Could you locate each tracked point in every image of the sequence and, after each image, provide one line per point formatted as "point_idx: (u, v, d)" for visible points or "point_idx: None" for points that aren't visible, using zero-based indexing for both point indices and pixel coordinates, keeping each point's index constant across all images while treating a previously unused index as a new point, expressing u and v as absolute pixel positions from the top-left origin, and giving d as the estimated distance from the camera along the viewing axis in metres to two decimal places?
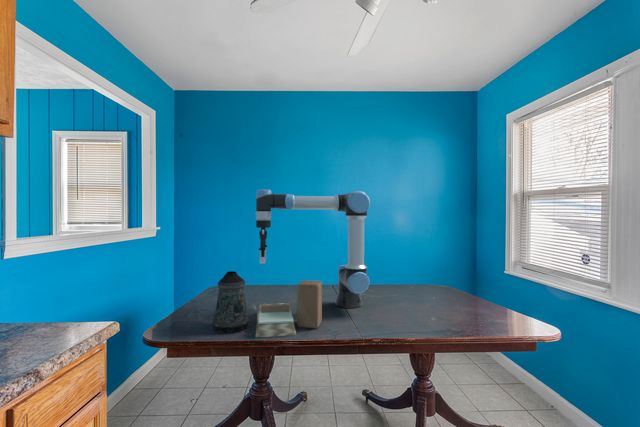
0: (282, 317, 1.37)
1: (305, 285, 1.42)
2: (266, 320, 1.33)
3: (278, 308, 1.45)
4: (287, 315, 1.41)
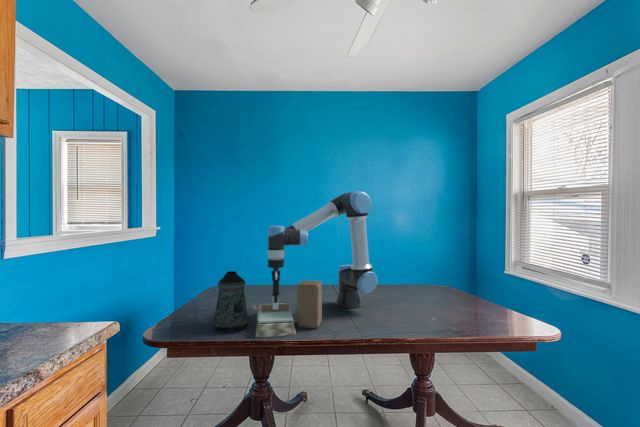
0: (282, 316, 1.39)
1: (305, 285, 1.42)
2: (266, 319, 1.35)
3: None
4: (287, 314, 1.42)
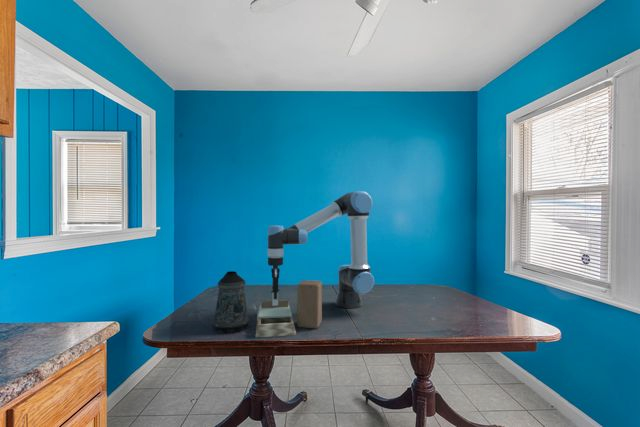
0: (281, 312, 1.45)
1: (305, 285, 1.42)
2: (266, 314, 1.41)
3: None
4: (286, 310, 1.49)
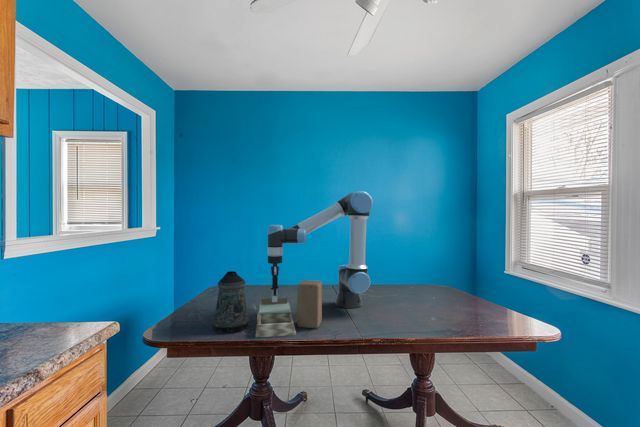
0: (280, 308, 1.51)
1: (305, 285, 1.42)
2: (266, 310, 1.47)
3: (277, 300, 1.59)
4: (285, 306, 1.54)
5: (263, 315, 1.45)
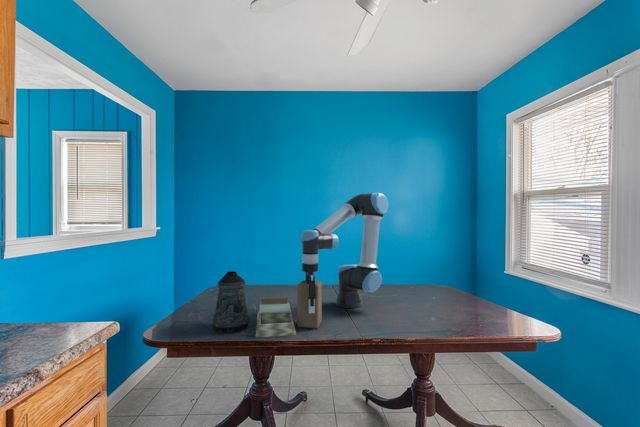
0: (280, 308, 1.51)
1: (305, 285, 1.42)
2: (266, 310, 1.47)
3: (277, 300, 1.59)
4: (285, 306, 1.55)
5: (263, 315, 1.45)
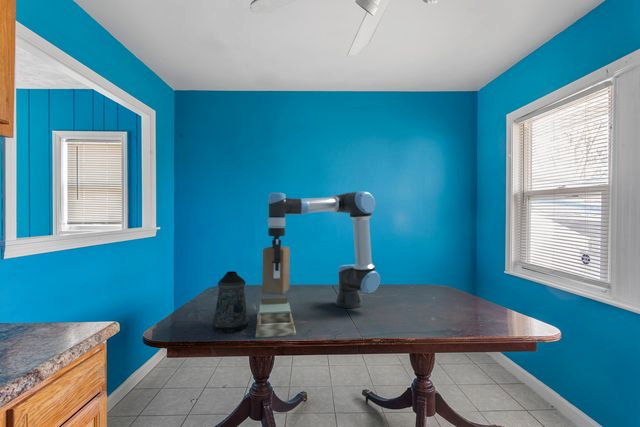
0: (280, 308, 1.51)
1: (270, 249, 1.35)
2: (266, 310, 1.47)
3: (277, 300, 1.59)
4: (285, 306, 1.55)
5: (263, 315, 1.45)
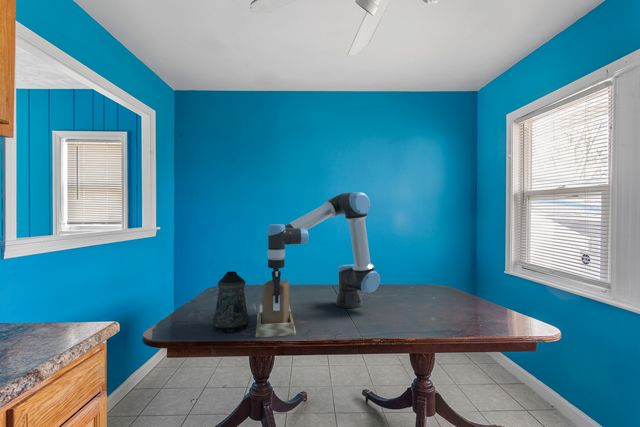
0: None
1: (271, 285, 1.35)
2: None
3: None
4: None
5: None
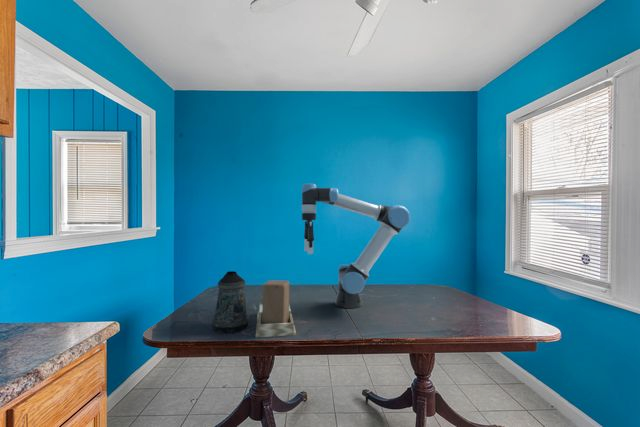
0: None
1: (271, 285, 1.35)
2: None
3: None
4: None
5: None
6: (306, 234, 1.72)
